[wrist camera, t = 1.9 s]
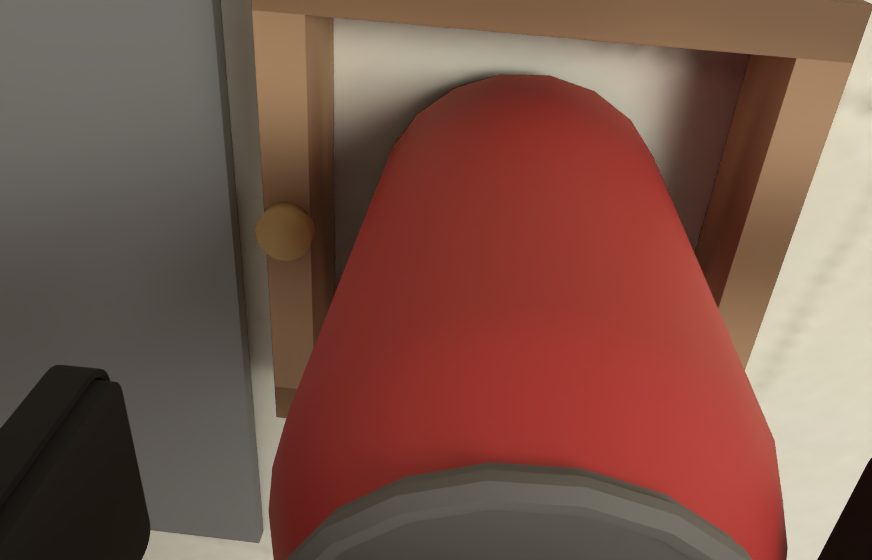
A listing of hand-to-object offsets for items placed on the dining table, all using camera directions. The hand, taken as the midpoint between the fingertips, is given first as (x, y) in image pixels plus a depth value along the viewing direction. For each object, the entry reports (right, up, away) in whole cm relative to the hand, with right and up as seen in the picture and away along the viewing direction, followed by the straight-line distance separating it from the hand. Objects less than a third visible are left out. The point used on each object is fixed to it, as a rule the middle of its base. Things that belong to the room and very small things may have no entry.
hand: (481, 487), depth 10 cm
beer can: (+1, +5, +9) cm, 10 cm away
